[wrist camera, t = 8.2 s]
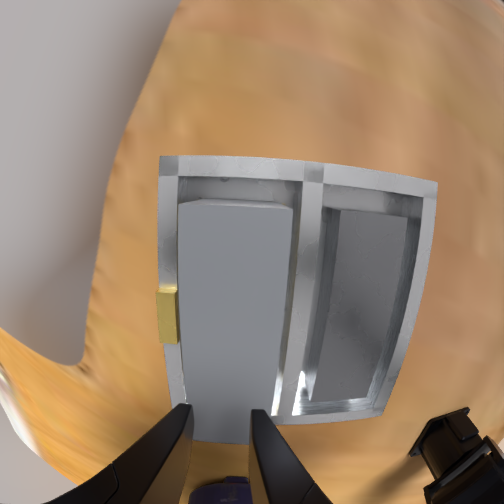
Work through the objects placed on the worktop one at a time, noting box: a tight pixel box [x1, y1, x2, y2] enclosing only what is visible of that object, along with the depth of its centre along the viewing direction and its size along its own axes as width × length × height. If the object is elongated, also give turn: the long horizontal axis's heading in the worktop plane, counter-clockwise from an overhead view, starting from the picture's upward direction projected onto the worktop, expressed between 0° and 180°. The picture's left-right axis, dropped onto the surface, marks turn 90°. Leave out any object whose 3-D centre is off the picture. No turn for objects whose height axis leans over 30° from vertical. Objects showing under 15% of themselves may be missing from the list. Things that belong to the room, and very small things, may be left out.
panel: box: [178, 198, 293, 445], centre depth 14 cm, size 12×4×6 cm, turn 177°
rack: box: [156, 156, 438, 425], centre depth 16 cm, size 16×15×4 cm
